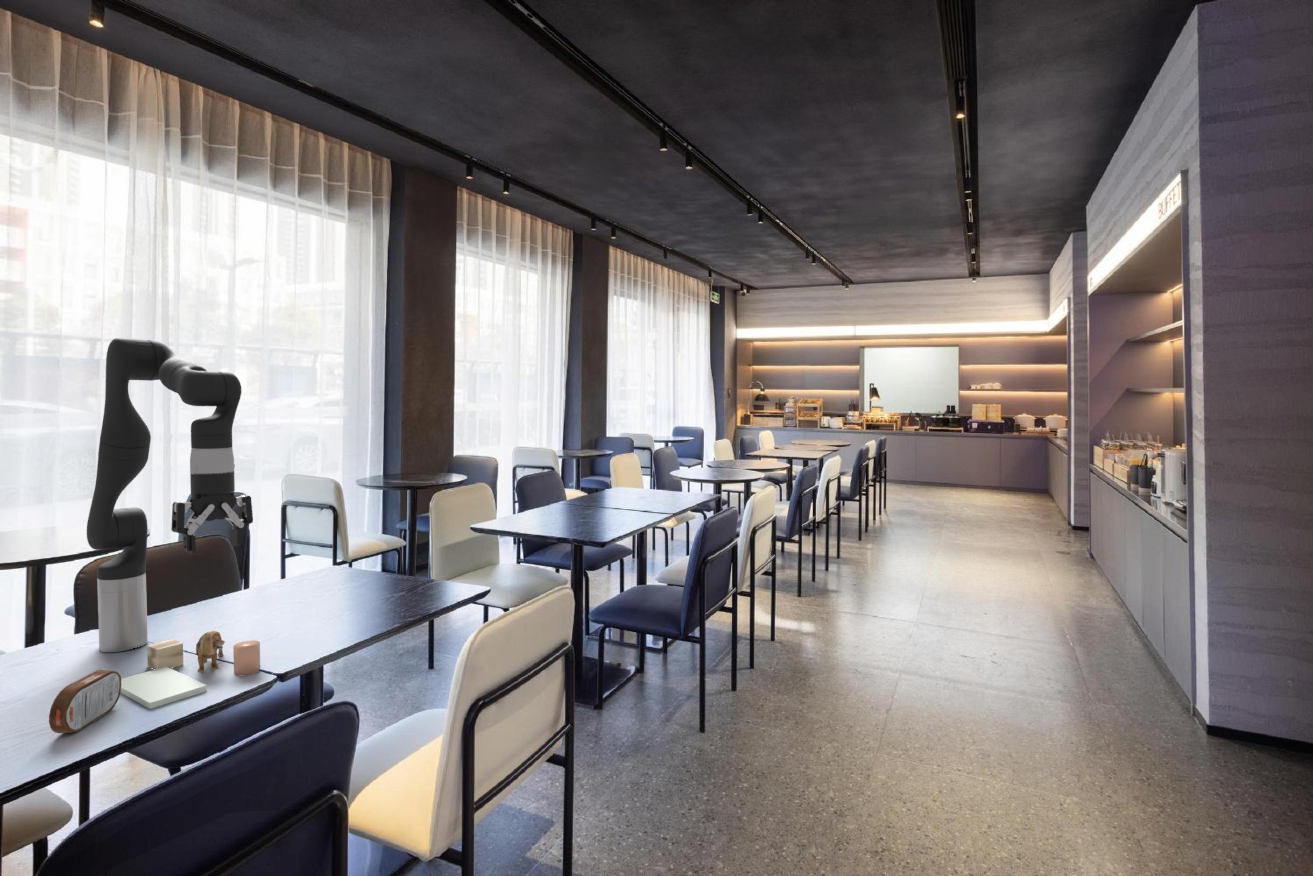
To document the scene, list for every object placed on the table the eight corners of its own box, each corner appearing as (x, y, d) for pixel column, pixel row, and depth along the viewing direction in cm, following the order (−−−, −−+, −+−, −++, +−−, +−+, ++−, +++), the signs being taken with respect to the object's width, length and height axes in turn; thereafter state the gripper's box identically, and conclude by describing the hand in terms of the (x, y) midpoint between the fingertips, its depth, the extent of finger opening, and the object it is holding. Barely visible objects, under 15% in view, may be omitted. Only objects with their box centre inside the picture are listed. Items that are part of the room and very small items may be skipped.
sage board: (111, 687, 142) (110, 681, 142) (166, 671, 150) (166, 666, 150) (149, 709, 132) (149, 703, 132) (206, 691, 141) (206, 685, 141)
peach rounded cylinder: (229, 672, 150) (228, 645, 150) (253, 665, 155) (252, 639, 154) (241, 677, 148) (240, 650, 147) (264, 670, 152) (264, 643, 152)
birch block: (147, 667, 153) (147, 645, 153) (173, 660, 157) (172, 639, 157) (157, 672, 150) (157, 649, 150) (183, 665, 155) (182, 643, 154)
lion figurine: (225, 673, 150) (224, 632, 150) (196, 678, 147) (195, 636, 147) (223, 652, 162) (222, 614, 162) (196, 656, 160) (195, 618, 159)
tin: (108, 704, 134) (107, 662, 134) (126, 704, 134) (124, 661, 134) (47, 742, 119) (45, 695, 119) (66, 742, 119) (65, 694, 119)
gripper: (239, 466, 147) (241, 541, 148) (163, 471, 135) (166, 553, 136) (258, 468, 143) (259, 545, 144) (181, 474, 131) (183, 558, 132)
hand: (214, 549), depth 140 cm, fingers open, 8 cm apart
